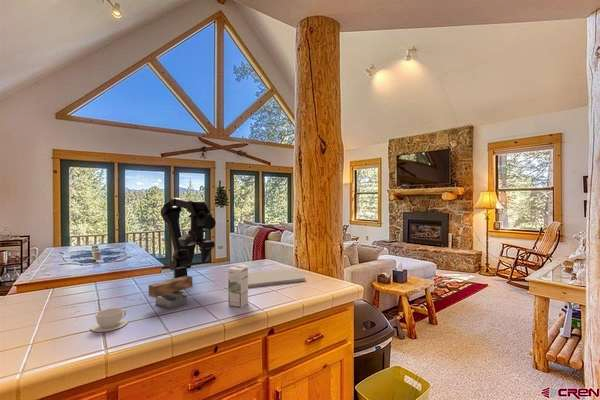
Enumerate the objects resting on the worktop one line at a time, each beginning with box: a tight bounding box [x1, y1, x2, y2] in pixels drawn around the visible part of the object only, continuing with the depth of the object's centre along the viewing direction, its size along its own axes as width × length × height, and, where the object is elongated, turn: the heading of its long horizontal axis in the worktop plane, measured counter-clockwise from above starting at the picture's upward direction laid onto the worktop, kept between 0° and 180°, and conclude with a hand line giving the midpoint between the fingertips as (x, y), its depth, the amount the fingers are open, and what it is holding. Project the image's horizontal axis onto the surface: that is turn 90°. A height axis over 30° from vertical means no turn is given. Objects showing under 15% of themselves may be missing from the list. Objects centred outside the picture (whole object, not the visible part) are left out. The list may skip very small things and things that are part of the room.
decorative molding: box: [248, 268, 306, 288], centre depth 147 cm, size 34×5×10 cm
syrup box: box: [227, 265, 249, 308], centre depth 115 cm, size 6×6×14 cm
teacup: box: [90, 307, 128, 333], centre depth 96 cm, size 10×10×5 cm
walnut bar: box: [148, 275, 193, 299], centre depth 116 cm, size 16×4×4 cm, turn 146°
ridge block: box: [155, 290, 188, 310], centre depth 116 cm, size 10×7×5 cm
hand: (197, 261), depth 138 cm, fingers open, 9 cm apart
